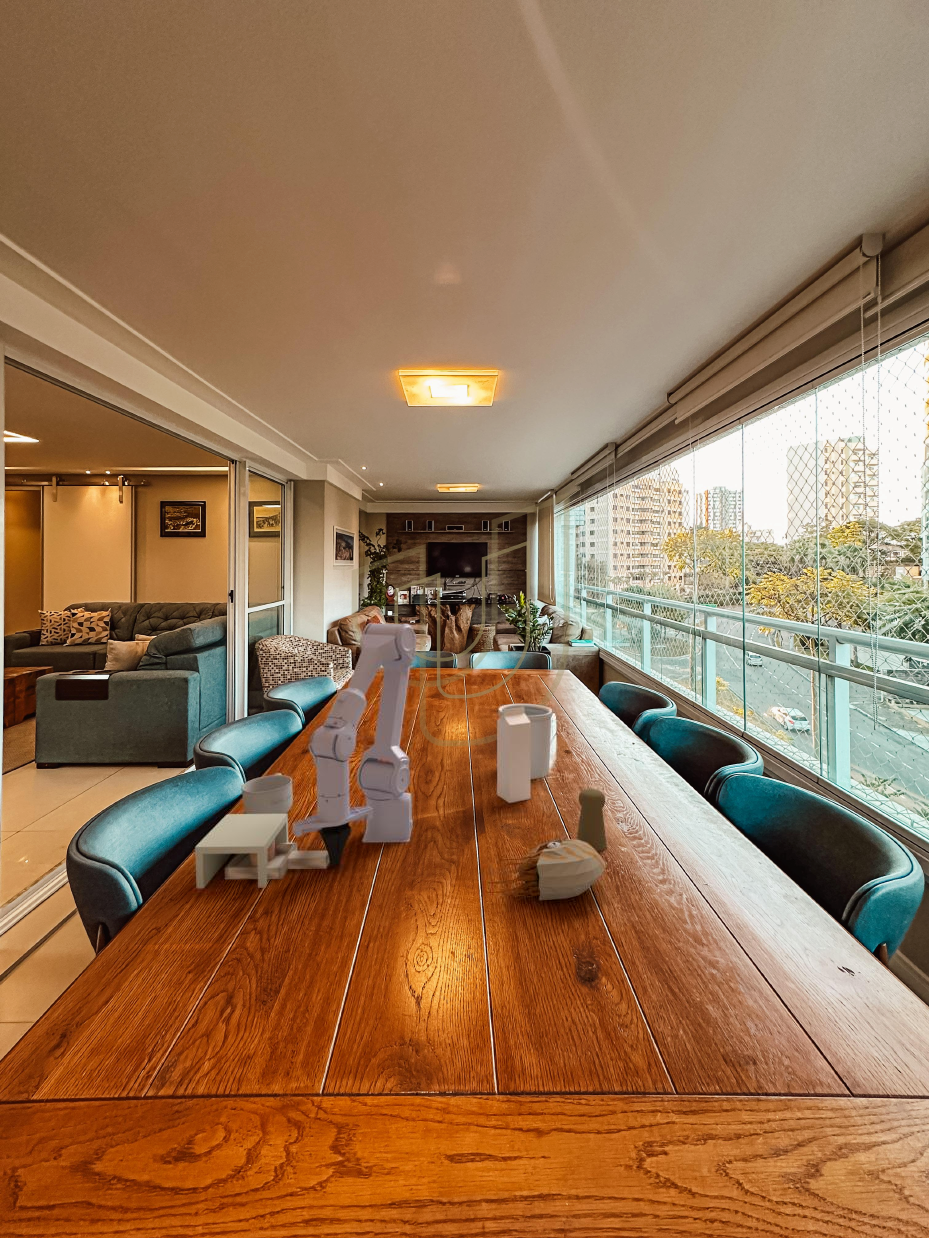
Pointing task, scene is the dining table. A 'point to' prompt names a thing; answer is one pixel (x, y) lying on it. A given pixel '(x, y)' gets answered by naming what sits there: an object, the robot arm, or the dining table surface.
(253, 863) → the tan rounded block
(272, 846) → the tan rounded capsule
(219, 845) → the grey bridge stand
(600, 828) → the pepper mill
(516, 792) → the milk
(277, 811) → the teacup
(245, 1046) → the dining table surface
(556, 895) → the nautilus
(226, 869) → the drawer with block handle
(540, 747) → the utensil holder
